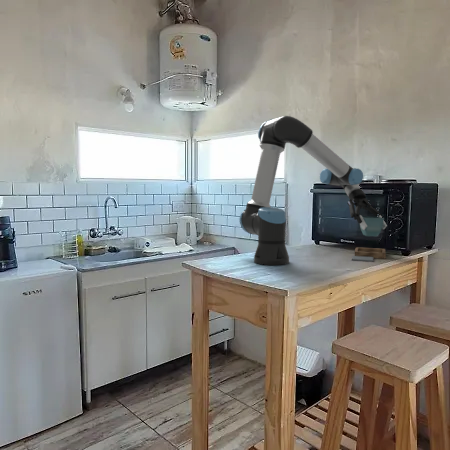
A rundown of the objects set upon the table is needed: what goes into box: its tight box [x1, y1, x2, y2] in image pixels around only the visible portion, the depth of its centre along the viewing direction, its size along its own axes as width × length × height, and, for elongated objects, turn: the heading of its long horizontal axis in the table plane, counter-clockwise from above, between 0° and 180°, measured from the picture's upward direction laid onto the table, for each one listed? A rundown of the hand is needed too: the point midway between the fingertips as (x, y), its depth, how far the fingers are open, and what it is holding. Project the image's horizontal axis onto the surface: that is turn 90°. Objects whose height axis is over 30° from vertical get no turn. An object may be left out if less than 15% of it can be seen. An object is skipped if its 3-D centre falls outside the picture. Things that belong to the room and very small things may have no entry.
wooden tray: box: [354, 247, 387, 260], centre depth 192 cm, size 13×13×2 cm
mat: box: [351, 255, 374, 263], centre depth 183 cm, size 9×9×1 cm
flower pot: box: [359, 215, 385, 237], centre depth 191 cm, size 9×9×9 cm
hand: (375, 227), depth 189 cm, fingers closed on flower pot, 11 cm apart
